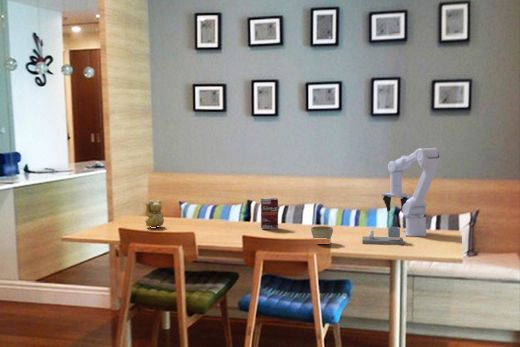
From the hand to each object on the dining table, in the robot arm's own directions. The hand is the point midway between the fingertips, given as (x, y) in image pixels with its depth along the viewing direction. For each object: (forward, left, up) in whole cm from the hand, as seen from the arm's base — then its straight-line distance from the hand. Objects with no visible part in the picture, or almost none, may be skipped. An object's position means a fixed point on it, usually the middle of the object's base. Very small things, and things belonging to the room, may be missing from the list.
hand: (395, 211), depth 283 cm
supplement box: (+64, +6, -10) cm, 65 cm away
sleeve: (+2, +31, -8) cm, 32 cm away
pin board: (+7, +31, -9) cm, 33 cm away
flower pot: (+34, +38, -10) cm, 52 cm away
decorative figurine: (+125, +11, -10) cm, 126 cm away
